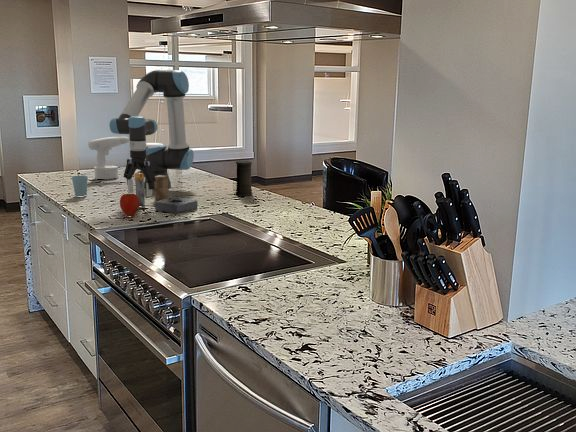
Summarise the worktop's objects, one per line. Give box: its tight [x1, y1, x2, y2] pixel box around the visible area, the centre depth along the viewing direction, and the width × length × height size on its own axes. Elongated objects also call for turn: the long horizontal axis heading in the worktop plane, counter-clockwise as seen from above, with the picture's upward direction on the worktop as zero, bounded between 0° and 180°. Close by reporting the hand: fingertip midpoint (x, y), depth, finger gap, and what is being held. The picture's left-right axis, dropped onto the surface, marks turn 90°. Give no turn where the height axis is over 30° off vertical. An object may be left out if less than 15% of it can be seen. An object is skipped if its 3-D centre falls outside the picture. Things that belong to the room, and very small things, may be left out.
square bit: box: [154, 175, 170, 201], centre depth 291 cm, size 5×5×12 cm
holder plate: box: [154, 196, 199, 215], centre depth 271 cm, size 14×14×4 cm
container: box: [235, 160, 253, 197], centre depth 305 cm, size 9×9×18 cm
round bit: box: [134, 172, 146, 207], centre depth 274 cm, size 4×4×16 cm
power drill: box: [87, 136, 130, 180], centre depth 345 cm, size 8×24×25 cm, turn 122°
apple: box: [119, 192, 140, 217], centre depth 254 cm, size 9×8×11 cm
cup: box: [71, 175, 89, 197], centre depth 294 cm, size 8×8×10 cm
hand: (140, 194), depth 274 cm, fingers open, 12 cm apart
